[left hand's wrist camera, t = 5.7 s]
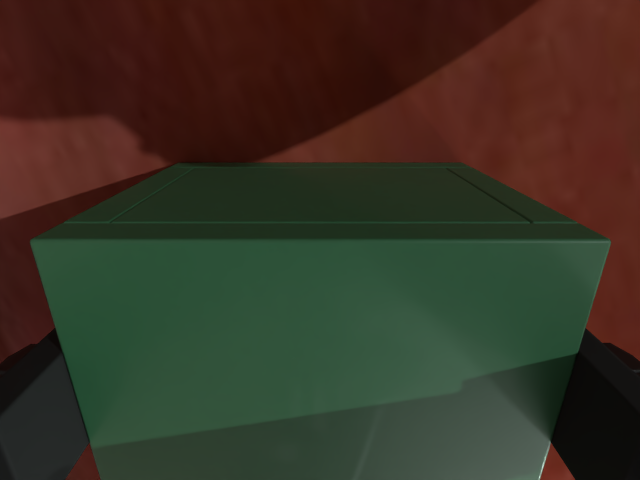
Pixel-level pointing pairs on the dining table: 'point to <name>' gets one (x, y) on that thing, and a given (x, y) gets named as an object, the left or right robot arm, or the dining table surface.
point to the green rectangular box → (320, 322)
